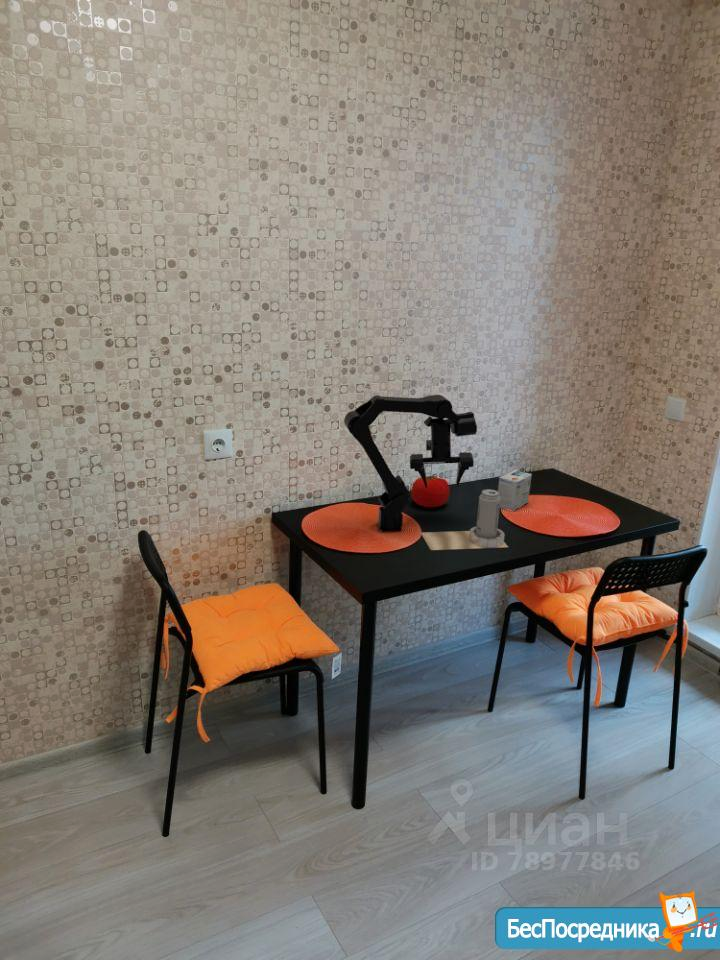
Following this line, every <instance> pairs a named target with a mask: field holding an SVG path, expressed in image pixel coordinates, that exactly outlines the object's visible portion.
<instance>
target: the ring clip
mask: <svg viewBox="0 0 720 960" xmlns="http://www.w3.org/2000/svg"><path fill="white" fill-rule="evenodd" d="M469 531H470V532H469V540H470V542H471V543H473V544H475V545H477V546H480V547H486V548H485V549H496V548H495V547H499V546H501V545H502V544H503V542H505V532H504V531H503V530H501V529H499V528H498V527H497V536H496V538H483V537H480V536H477V535H476V526H473V527H471V528H470V529H469Z"/></svg>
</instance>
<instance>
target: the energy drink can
mask: <svg viewBox="0 0 720 960" xmlns="http://www.w3.org/2000/svg"><path fill="white" fill-rule="evenodd" d="M500 500H501V499H500V496H499V492H498V490H495V489H488V488H487V489H483V490H482V491H481V494H480V495H479V497H478V506H477V516H476V517H477V518H476V525H475V527H476V535H477V536H480V537H483V538H496V536H497V528H498V524H499V518H500V517H499V516H500V510H501V508H500Z"/></svg>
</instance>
